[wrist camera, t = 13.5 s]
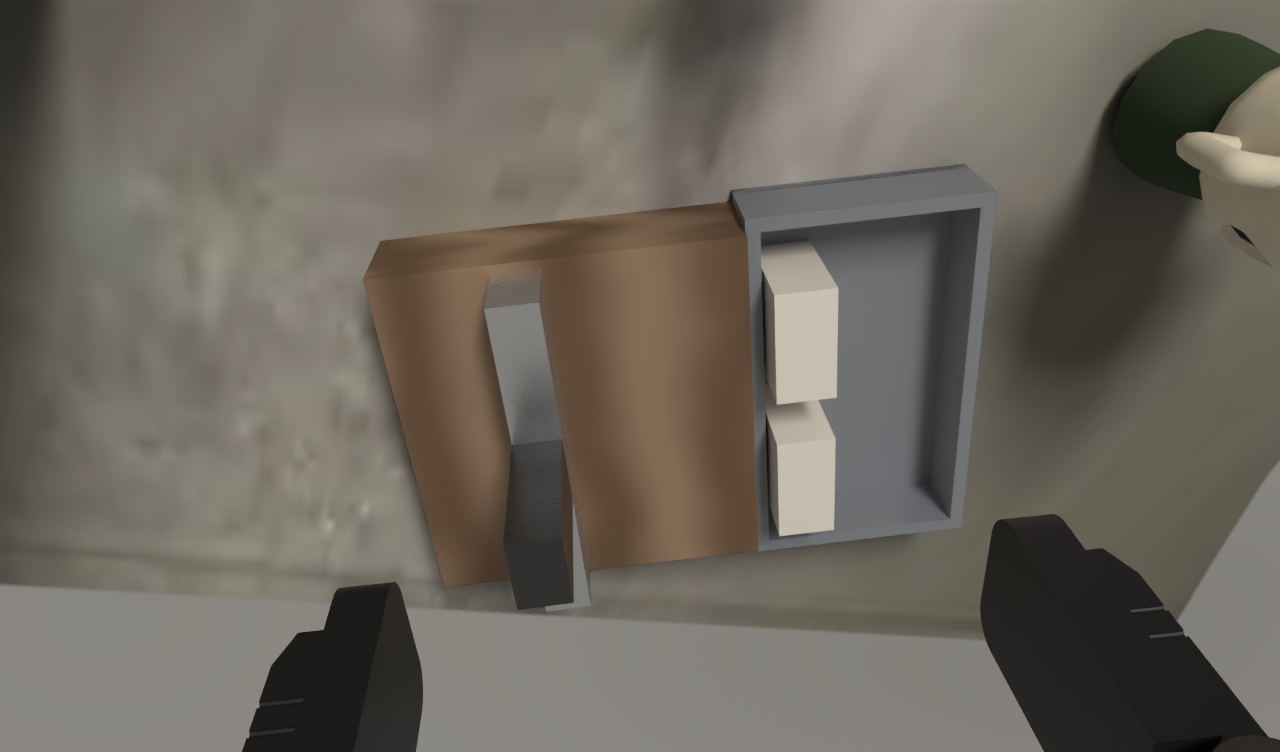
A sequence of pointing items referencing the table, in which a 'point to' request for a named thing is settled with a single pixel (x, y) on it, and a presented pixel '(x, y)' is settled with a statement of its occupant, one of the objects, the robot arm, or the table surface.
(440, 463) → the walnut plate
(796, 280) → the cream tile
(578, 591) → the bar
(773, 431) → the cream tile
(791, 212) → the box
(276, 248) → the table surface
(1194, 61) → the character mug
